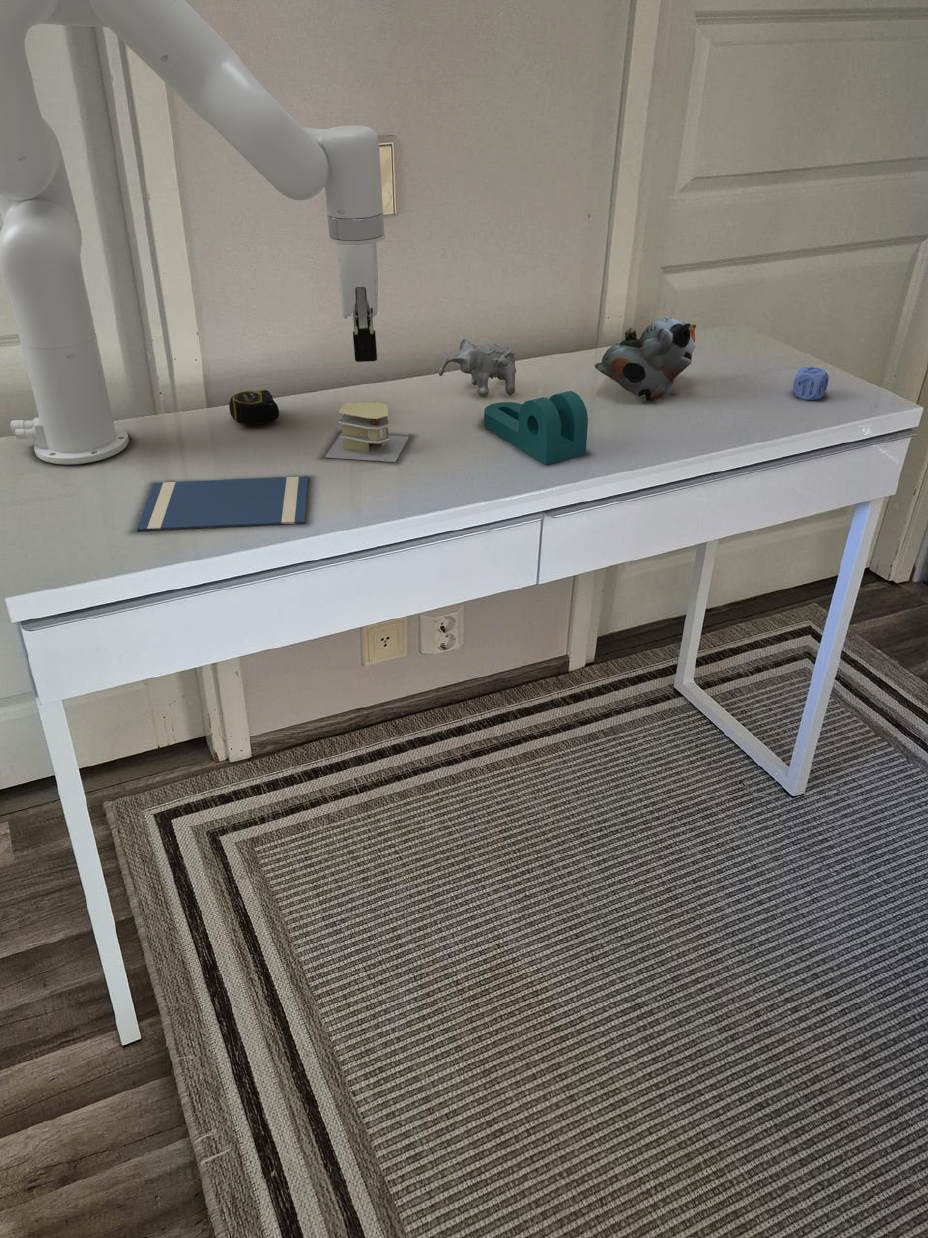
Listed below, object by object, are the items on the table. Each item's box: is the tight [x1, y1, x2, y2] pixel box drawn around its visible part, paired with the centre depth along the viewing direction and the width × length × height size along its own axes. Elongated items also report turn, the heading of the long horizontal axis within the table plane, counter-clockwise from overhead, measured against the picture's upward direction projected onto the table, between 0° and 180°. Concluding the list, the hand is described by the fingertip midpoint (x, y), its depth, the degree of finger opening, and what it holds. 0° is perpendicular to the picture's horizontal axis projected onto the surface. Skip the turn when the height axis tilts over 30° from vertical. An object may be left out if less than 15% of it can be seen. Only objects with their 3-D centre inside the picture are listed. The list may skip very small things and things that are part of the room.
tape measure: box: [228, 389, 280, 426], centre depth 152 cm, size 7×7×4 cm
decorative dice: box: [792, 366, 830, 401], centre depth 160 cm, size 4×4×4 cm
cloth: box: [136, 475, 309, 532], centre depth 130 cm, size 20×13×1 cm, turn 95°
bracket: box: [483, 390, 589, 466], centre depth 145 cm, size 18×7×8 cm, turn 31°
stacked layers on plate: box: [324, 402, 410, 463], centre depth 143 cm, size 10×9×6 cm
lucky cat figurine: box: [594, 317, 697, 402], centre depth 160 cm, size 15×12×14 cm
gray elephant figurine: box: [438, 338, 517, 398], centre depth 161 cm, size 9×12×8 cm
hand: (366, 359), depth 149 cm, fingers closed
